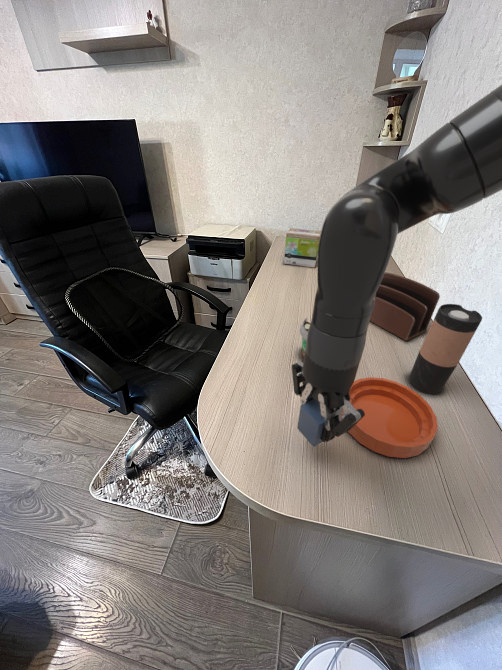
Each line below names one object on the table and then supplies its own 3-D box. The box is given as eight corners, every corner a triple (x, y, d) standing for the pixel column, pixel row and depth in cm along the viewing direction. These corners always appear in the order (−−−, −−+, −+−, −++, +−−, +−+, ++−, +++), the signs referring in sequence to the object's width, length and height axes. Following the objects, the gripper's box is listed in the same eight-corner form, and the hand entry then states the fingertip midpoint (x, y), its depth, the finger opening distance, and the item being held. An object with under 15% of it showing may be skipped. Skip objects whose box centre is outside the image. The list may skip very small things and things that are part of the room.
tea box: (283, 264, 133) (285, 232, 124) (287, 257, 140) (289, 227, 132) (315, 268, 129) (319, 235, 121) (317, 261, 137) (321, 230, 128)
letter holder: (372, 305, 100) (383, 268, 92) (425, 332, 86) (444, 290, 78) (353, 312, 95) (363, 274, 87) (406, 342, 81) (423, 299, 73)
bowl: (448, 433, 56) (456, 420, 54) (391, 476, 49) (398, 464, 46) (376, 380, 68) (380, 367, 66) (322, 408, 61) (325, 395, 59)
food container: (287, 357, 76) (290, 326, 70) (300, 347, 79) (304, 317, 74) (327, 378, 69) (334, 346, 63) (339, 366, 72) (347, 335, 67)
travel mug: (412, 393, 65) (447, 320, 53) (403, 371, 71) (433, 302, 60) (448, 397, 64) (491, 324, 52) (435, 374, 70) (471, 305, 59)
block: (333, 435, 48) (340, 413, 45) (313, 447, 46) (318, 425, 43) (316, 417, 51) (321, 395, 48) (297, 428, 49) (300, 405, 46)
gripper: (395, 371, 35) (363, 450, 45) (318, 319, 45) (306, 393, 55) (353, 393, 32) (328, 473, 42) (280, 332, 42) (274, 408, 52)
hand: (315, 427), depth 48 cm, fingers closed on block, 4 cm apart
